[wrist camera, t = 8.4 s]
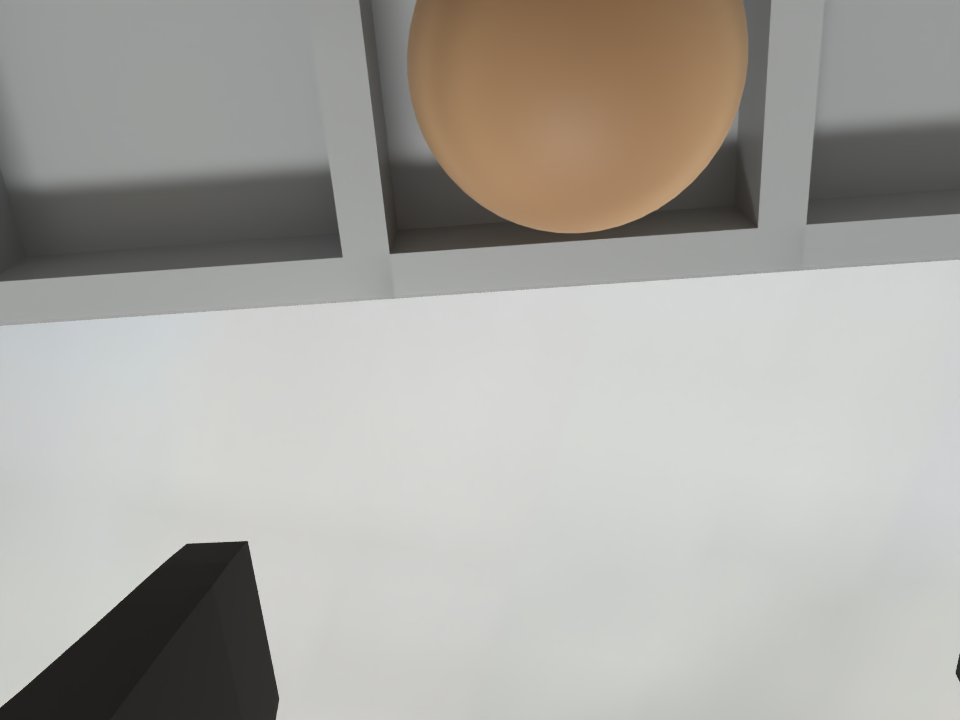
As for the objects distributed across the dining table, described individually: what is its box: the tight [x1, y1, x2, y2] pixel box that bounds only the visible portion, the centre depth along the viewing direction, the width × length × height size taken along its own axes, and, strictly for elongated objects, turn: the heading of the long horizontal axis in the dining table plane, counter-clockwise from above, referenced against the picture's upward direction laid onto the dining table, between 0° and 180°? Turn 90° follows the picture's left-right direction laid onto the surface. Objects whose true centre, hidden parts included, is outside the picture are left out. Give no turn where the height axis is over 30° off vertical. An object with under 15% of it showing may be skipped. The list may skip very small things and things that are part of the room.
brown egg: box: [407, 0, 748, 233], centre depth 12 cm, size 4×4×6 cm
